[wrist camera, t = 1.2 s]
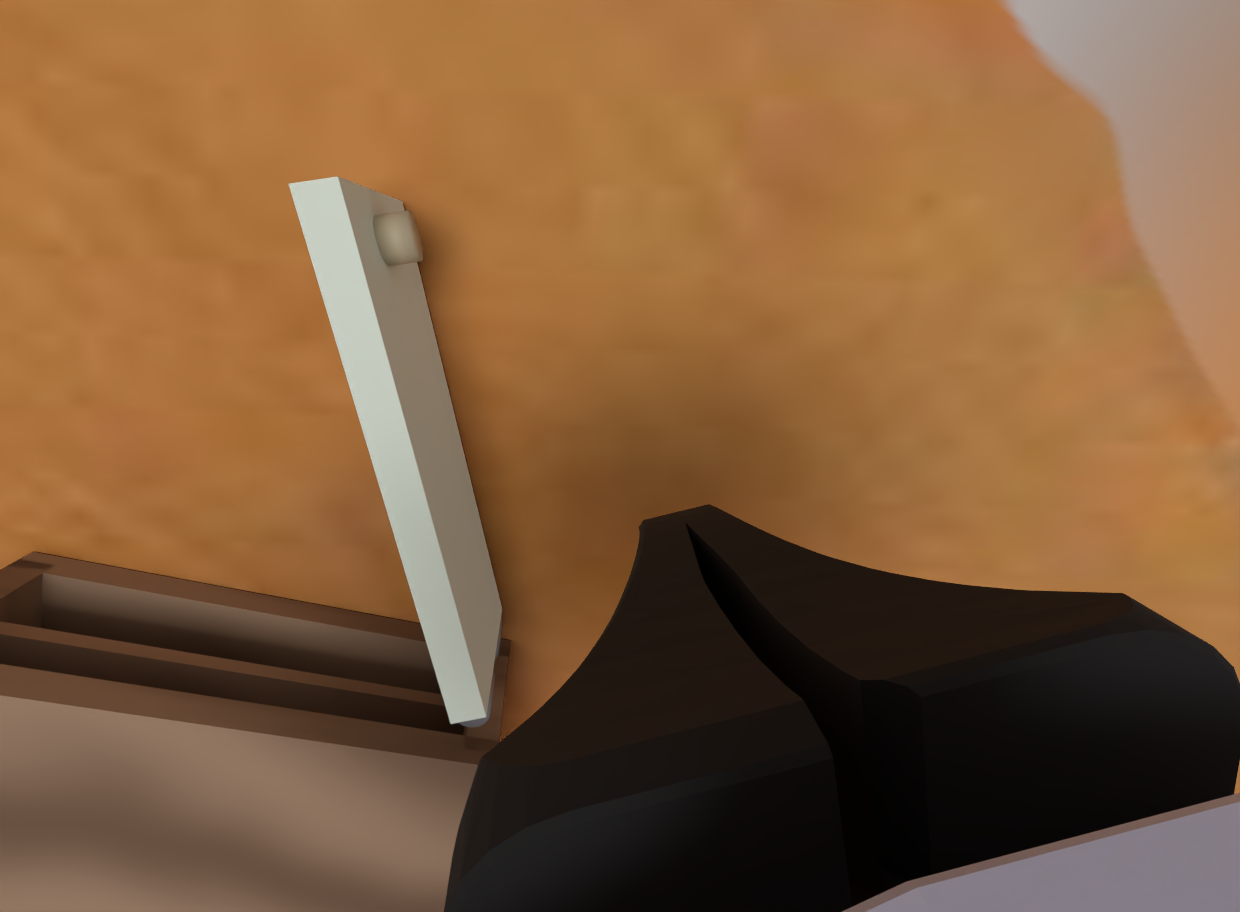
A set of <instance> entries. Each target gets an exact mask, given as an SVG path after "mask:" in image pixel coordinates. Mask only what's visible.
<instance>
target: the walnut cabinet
mask: <svg viewBox="0 0 1240 912" xmlns="http://www.w3.org/2000/svg"><path fill="white" fill-rule="evenodd" d="M510 642H511V640H505V639H500V646H499V653H498V656H497V658H496V659H495V662H494V668H493V671H494V673H495V682H494V689H493V696H492V703H491V710H490V716H489V719H488V720H487V722H486V723H484V724H483V725H481V726H479V727H466V726H463V725H461V724H460V723H454V724H451V723H450V720H449V717H448V713H447V710H446V707H445V703H444V700H443V697H442V693H441V690H440V687H439V683H438V680H437V677H436V673H435V670H434V667H433V663H432V660H431V657H430V653H429V650H428V647H427V643H426V640H425V637H424V633H423V630H422V627H421V624H419V623H414V622H408V621H403V620H398V619H392V618H387V617H381V616H376V615H371V614H365V613H360V612H355V611H349V610H344V609H338V608H333V607H328V606H322V605H317V604H311V603H306V602H301V601H295V600H290V599H285V598H279V597H274V596H268V595H263V594H258V593H252V592H247V591H242V590H236V589H231V588H225V587H220V586H215V585H209V584H204V583H198V582H193V581H188V580H182V579H177V578H172V577H166V576H161V575H155V574H150V573H145V572H139V571H134V570H129V569H123V568H118V567H112V566H107V565H102V564H96V563H91V562H85V561H80V560H75V559H69V558H64V557H59V556H53V555H48V554H42V553H37V552H31V553H30V554H28V555H26V556H24V557H22V558H21V559H19V560H17V561H15V562H14V563H12V564H10V565H8V566H6V567H5V568H3V569H1V570H0V912H444V907H445V900H446V894H447V887H448V881H449V874H450V868H451V862H452V855H453V851H454V846H455V841H456V836H457V832H458V828H459V825H460V822H461V818H462V815H463V812H464V808H465V805H466V802H467V798H468V795H469V792H470V789H471V786H472V782H473V779H474V776H475V773H476V770H477V767H478V764H479V761H480V759H481V757H482V756H483V755H485V754H486V753H487V752H489V751H490V750H491V749H493V748H494V747H495V746H496V745H497V744H499V739H500V730H501V721H502V713H503V704H504V695H505V686H506V677H507V669H508V660H509V651H510Z"/></svg>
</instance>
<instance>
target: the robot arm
mask: <svg viewBox="0 0 1240 912" xmlns="http://www.w3.org/2000/svg"><path fill="white" fill-rule="evenodd" d="M639 530H640V538H639V544H638V549H637V554H636V558H635V561H634V564H633V568H632V571H631V574H630V577H629V580H628V582H627V585H626V587H625V590H624V592H623V595H622V597H621V599H620V602H619V604H618V606H617V608H616V610H615V612H614V614H613V616H612V618H611V620H610V622H609V623H608V625H607V627H606V629H605V630H604V632H603V634H602V635H601V637H600V639H599V640H598V642H597V643H596V644H595V646H594V647H593V649H592V650H591V652H590V653H589V655H588V656H587V657H586V659H585V660H584V661H583V663H582V664H581V665H580V667H579V668H578V669H577V670H576V671H575V673H574V674H573V675H572V676H571V677H570V678H569V679H568V680H567V681H566V683H565V684H564V685H563V686H562V687H561V688H560V689H559V690H558V691H557V692H556V693H555V694H554V695H553V696H552V697H551V698H550V699H549V700H548V701H547V702H546V703H545V704H544V705H543V706H542V707H541V708H540V709H539V710H538V711H537V712H535V713H534V714H533V715H532V716H531V717H530V718H529V719H527V720H526V721H525V722H524V723H523V724H521V725H520V726H519V727H518V728H517V729H515V730H514V731H513V732H512V733H511V734H509V735H508V736H507V737H506V738H505V739H503V740H502V741H501V742H500V743H499V744H497V745H496V746H495V747H494V748H493V749H491V750H490V751H489V752H487V753H486V754H485V755H483V756H482V757H481V759H480V761H479V764H478V767H477V770H476V773H475V776H474V779H473V782H472V786H471V789H470V792H469V795H468V798H467V802H466V805H465V808H464V812H463V815H462V818H461V822H460V825H459V828H458V832H457V836H456V841H455V846H454V851H453V855H452V862H451V868H450V874H449V881H448V887H447V894H446V900H445V907H444V912H1240V793H1238V794H1234V790H1235V784H1236V778H1237V772H1238V766H1239V760H1240V683H1239V680H1238V678H1237V675H1236V672H1235V670H1234V667H1233V666H1232V665H1231V664H1230V663H1229V662H1228V661H1227V660H1226V659H1225V658H1224V657H1223V656H1222V655H1221V654H1220V653H1219V652H1218V651H1217V650H1216V649H1215V648H1214V647H1213V646H1212V645H1210V644H1208V643H1207V642H1205V641H1203V640H1202V639H1200V638H1198V637H1196V636H1195V635H1193V634H1191V633H1190V632H1188V631H1186V630H1185V629H1183V628H1181V627H1180V626H1178V625H1176V624H1174V623H1173V622H1171V621H1169V620H1168V619H1166V618H1164V617H1163V616H1161V615H1159V614H1158V613H1156V612H1154V611H1152V610H1151V609H1149V608H1147V607H1146V606H1144V605H1142V604H1141V603H1139V602H1137V601H1136V600H1134V599H1132V598H1131V597H1129V596H1127V595H1125V594H1123V593H1097V592H1062V591H1027V590H1013V589H1002V588H991V587H981V586H970V585H961V584H954V583H946V582H939V581H932V580H926V579H921V578H915V577H910V576H904V575H899V574H893V573H889V572H884V571H880V570H875V569H871V568H867V567H863V566H860V565H856V564H852V563H849V562H845V561H842V560H838V559H834V558H831V557H828V556H825V555H822V554H819V553H816V552H814V551H811V550H808V549H806V548H803V547H800V546H798V545H795V544H792V543H790V542H787V541H785V540H783V539H780V538H778V537H776V536H773V535H771V534H769V533H767V532H765V531H762V530H760V529H758V528H756V527H754V526H752V525H750V524H748V523H746V522H744V521H742V520H740V519H738V518H736V517H734V516H732V515H730V514H728V513H726V512H724V511H722V510H720V509H718V508H716V507H714V506H712V505H709V504H708V505H704V506H700V507H696V508H691V509H687V510H683V511H679V512H675V513H671V514H667V515H663V516H659V517H655V518H651V519H646V520H644V521H643V522H642V523H641V525H640V526H639Z"/></svg>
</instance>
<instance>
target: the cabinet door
mask: <svg viewBox="0 0 1240 912" xmlns="http://www.w3.org/2000/svg"><path fill="white" fill-rule="evenodd" d="M289 187H290V190H291V193H292V197H293V200H294V203H295V207H296V210H297V213H298V217H299V220H300V223H301V227H302V230H303V233H304V237H305V240H306V243H307V247H308V250H309V253H310V257H311V260H312V263H313V267H314V270H315V273H316V277H317V280H318V283H319V287H320V290H321V293H322V297H323V300H324V303H325V307H326V310H327V313H328V317H329V320H330V323H331V327H332V330H333V333H334V337H335V340H336V343H337V347H338V350H339V353H340V357H341V360H342V363H343V367H344V370H345V373H346V377H347V380H348V383H349V387H350V390H351V393H352V397H353V400H354V403H355V407H356V410H357V413H358V417H359V420H360V423H361V427H362V430H363V433H364V437H365V440H366V443H367V447H368V450H369V453H370V457H371V460H372V463H373V467H374V470H375V473H376V477H377V480H378V483H379V487H380V490H381V493H382V497H383V500H384V503H385V507H386V510H387V513H388V517H389V520H390V523H391V527H392V530H393V533H394V537H395V540H396V543H397V547H398V550H399V553H400V557H401V560H402V563H403V567H404V570H405V573H406V577H407V580H408V583H409V587H410V590H411V593H412V597H413V600H414V603H415V607H416V610H417V613H418V617H419V620H420V623H421V627H422V630H423V633H424V637H425V640H426V643H427V647H428V650H429V653H430V657H431V660H432V663H433V667H434V670H435V673H436V677H437V680H438V683H439V687H440V690H441V693H442V697H443V700H444V703H445V707H446V710H447V713H448V717H449V720H450V723H451V724H454V723H460V724H461V725H463V726H466V727H479V726H481V725H483V724H484V723H486V722H487V720H488V719H489V716H490V710H491V703H492V696H493V689H494V682H495V673H494V671H493V668H494V662H495V659H496V658H497V656H498V653H499V646H500V639H501V632H502V625H503V623H502V619H501V614H502V606H501V602H500V598H499V594H498V590H497V586H496V581H495V577H494V573H493V569H492V565H491V561H490V557H489V553H488V549H487V545H486V541H485V537H484V533H483V528H482V524H481V520H480V516H479V512H478V508H477V504H476V500H475V496H474V492H473V488H472V484H471V480H470V475H469V471H468V467H467V463H466V459H465V455H464V451H463V447H462V443H461V439H460V435H459V431H458V427H457V423H456V418H455V414H454V410H453V406H452V402H451V398H450V394H449V390H448V386H447V382H446V378H445V374H444V370H443V365H442V361H441V357H440V353H439V349H438V345H437V341H436V337H435V333H434V329H433V325H432V321H431V317H430V312H429V308H428V304H427V300H426V296H425V292H424V288H423V284H422V280H421V276H420V272H419V268H418V264H417V262H421V261H423V247H422V242H421V237H420V233H419V230H418V227H417V224H416V221H415V218H414V216H413V214H412V213H411V211H409V210H406V211H404V207H403V202H402V201H401V200H398V199H395V198H393V197H390V196H388V195H385V194H382V193H380V192H377V191H374V190H372V189H369V188H366V187H364V186H361V185H359V184H356V183H353V182H351V181H348V180H345V179H343V178H340V177H332V178H325V179H318V180H311V181H305V182H298V183H291V184H289Z"/></svg>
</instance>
